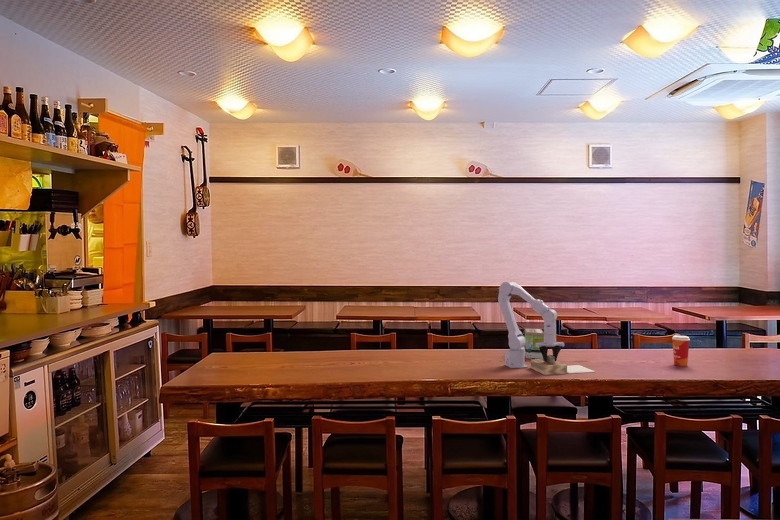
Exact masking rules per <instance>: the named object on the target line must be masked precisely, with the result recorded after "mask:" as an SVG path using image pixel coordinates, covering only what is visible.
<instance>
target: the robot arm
mask: <svg viewBox="0 0 780 520" xmlns="http://www.w3.org/2000/svg"><path fill="white" fill-rule="evenodd" d="M513 295H514V296H515V295H516V296H519V297H520V298H522V299H523V300H525V301H526V302H527V303H528V304H529V305H530V308H531V309H533V311H535V312H536V313H537V314H538V315H540V316H541V318H542V320H543V321H544V322H543V332H544V342H540V343H536V346H535V347H539V349H540V351H541V353H542V356H543V361H545V362H547V355H548V351H549V349H548V348H547V347H549V348H550V347H551V350H552V356H555V361H558V360H557V359H558V356H559V353H560V352H561V350H562V347H565V342H563V341H557V318H558V312H557V311H556V310H555V309H554V308H551V307H550V306H548V305H546V303H544V300H542V299H536V298H534V296H533V295H531V294H530V293H529V292H528V291H526V290H525V289H524V288H523V287H522V286H521V285H520V284H518V283H517V282H516V281H513V280H512V281H511V280H510V281H504V282H502V283H501V284H500V286H499V287H498V297H497V301H498V304H499V307H500V310H501V313H502V317H503V319H504V322H505V325H506V328H507V331H508V335H507V338H508V346H509V349H505V353H504V355H505V356H504V357H505V359H504V366H506V367H508V368H510V369H517V368H518V369H520V368H521V369H522V368H525V369H526V368H529V367H528V365H527V364H525V361H526V360H525V359H526V357H525V348H524V346H525V345H526V338H525V337H524V335H523V332H522V331H521V330H520V329H519V325H518V323H517V320H516V316H515V315H514V312H513V309H512V306H511V302H510V300H511V298H512V296H513Z"/></svg>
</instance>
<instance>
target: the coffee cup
mask: <svg viewBox="0 0 780 520" xmlns="http://www.w3.org/2000/svg"><path fill="white" fill-rule="evenodd" d="M671 339H672V353H673V354H672V355H673V365H674V364H675V365H674V366H676V365H679V366H678V367H687V366H688V363H689V362H688V361H689V351H690V350H689V349H690V348H689V346H690V341H691V339H690V337H689V336H687V335H676V334H675V335H673V336H672V338H671Z"/></svg>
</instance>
